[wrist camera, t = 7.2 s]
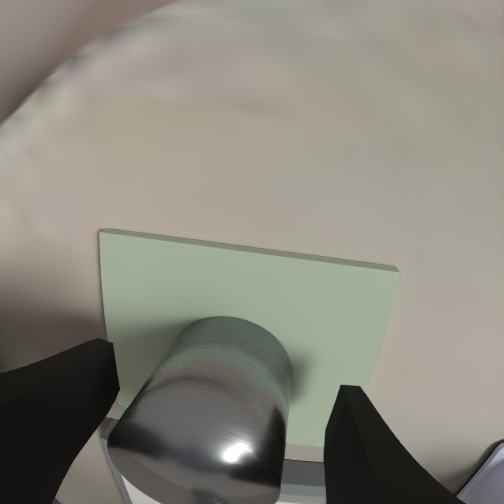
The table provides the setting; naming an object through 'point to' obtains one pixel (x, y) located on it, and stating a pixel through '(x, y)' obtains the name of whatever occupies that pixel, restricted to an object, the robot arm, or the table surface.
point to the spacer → (209, 418)
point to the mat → (247, 312)
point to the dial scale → (292, 488)
